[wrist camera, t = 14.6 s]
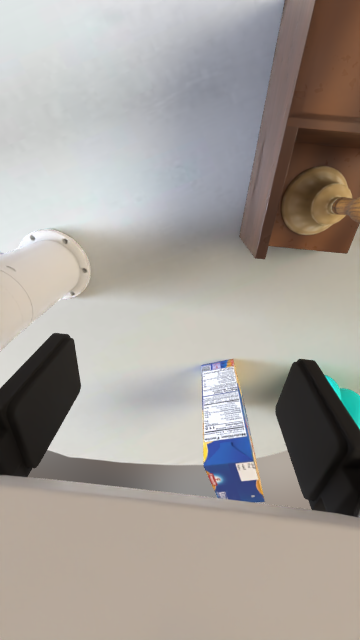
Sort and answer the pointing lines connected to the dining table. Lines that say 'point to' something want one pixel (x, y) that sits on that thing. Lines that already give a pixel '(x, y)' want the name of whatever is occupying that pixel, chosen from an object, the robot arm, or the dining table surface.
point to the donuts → (348, 400)
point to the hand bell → (318, 201)
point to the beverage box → (228, 436)
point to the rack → (307, 122)
